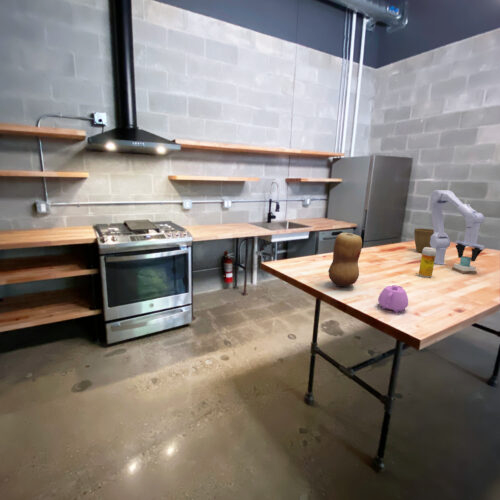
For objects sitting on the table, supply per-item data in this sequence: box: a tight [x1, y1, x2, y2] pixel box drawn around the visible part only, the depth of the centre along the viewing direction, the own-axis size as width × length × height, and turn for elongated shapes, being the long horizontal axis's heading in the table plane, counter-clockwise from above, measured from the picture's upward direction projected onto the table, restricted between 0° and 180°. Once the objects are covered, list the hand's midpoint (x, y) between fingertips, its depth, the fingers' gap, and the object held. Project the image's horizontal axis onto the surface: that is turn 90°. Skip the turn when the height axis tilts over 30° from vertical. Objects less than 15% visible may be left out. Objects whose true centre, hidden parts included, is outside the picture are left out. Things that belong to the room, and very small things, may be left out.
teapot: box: [377, 284, 409, 314], centre depth 116 cm, size 10×15×9 cm
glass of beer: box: [418, 247, 436, 278], centre depth 155 cm, size 6×6×15 cm
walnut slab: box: [451, 266, 477, 275], centre depth 166 cm, size 8×8×2 cm
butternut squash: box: [327, 232, 363, 288], centre depth 137 cm, size 14×13×25 cm
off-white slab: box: [453, 263, 477, 271], centre depth 165 cm, size 7×7×2 cm
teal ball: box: [459, 255, 472, 267], centre depth 164 cm, size 5×5×5 cm
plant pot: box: [413, 228, 434, 254], centre depth 207 cm, size 15×15×16 cm
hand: (466, 259), depth 164 cm, fingers open, 7 cm apart
